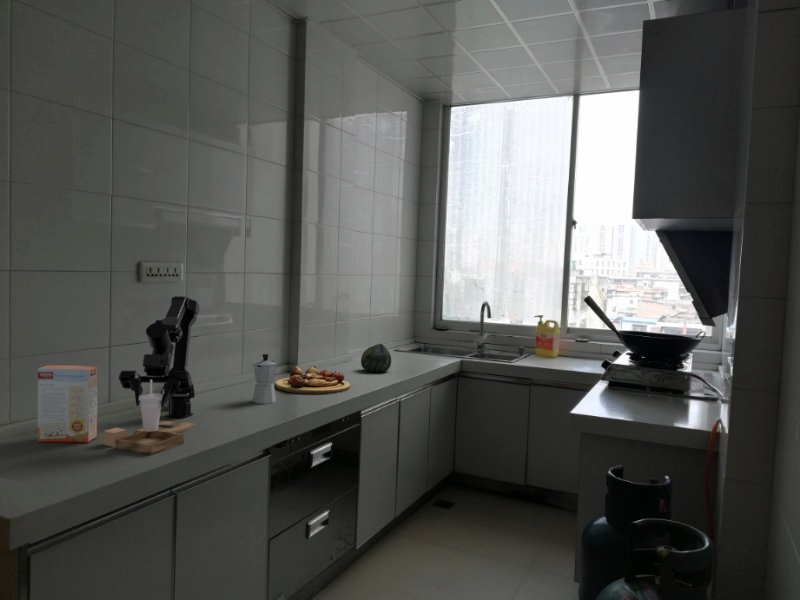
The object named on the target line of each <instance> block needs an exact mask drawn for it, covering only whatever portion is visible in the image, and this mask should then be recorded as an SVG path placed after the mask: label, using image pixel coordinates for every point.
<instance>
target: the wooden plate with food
mask: <svg viewBox="0 0 800 600" xmlns="http://www.w3.org/2000/svg"><path fill="white" fill-rule="evenodd" d="M289 376H290V377H286V378H285V377H284V378H281V379H277V380H276V381H275V382H274V388H277V390H280V391H283V392H287V393H292V394H293V393H295V394H302V395H303V394H304V395H329V394H328V393H333V394H338V393H337V392H340V393H343V392H342V391H344V392H346V390H347V391H349V390H350V389H349V388H351V384H350V383H349V381H346V380H345V375H344V373H342V372H337V371H336V370H334V372H333V371H328V370H327V369H322V370H320V371H319V370H318V369H317V368H316V367H314V366H311V367H309V368H308V369H307V370H306V371H305V373H303V370H302V369H301V368H300V367H298V366H294V367H293V368H291V370H290V372H289ZM348 389H349V390H348Z"/></svg>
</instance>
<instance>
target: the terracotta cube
mask: <svg viewBox="0 0 800 600" xmlns="http://www.w3.org/2000/svg"><path fill="white" fill-rule="evenodd" d="M125 436H127V429H124V428H119V427H113V428H110V429H106V430H103V445H104V446H108V447H111V446H112V448H116V447H115V446H116V439H119V438H122V437H125Z"/></svg>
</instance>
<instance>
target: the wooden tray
mask: <svg viewBox="0 0 800 600" xmlns="http://www.w3.org/2000/svg"><path fill="white" fill-rule="evenodd" d="M184 439H185V434H183V433H180V434H178V433H172V432H166V431H160V430H156V431H151V432H147V431H141V432H138V433H131V434H129V435H126V436H125V437H122V438H119V439H116V447H115V449H116V450H123V451H127V452H133V453H136V454H137V453H139V454H144V455H147V456H148V455H149V456H152V455H156V454H158V453H161V452H164V451H166V450H169V449H171V448H174V447H178V446H180V445H182V444H184V443H185V440H184Z"/></svg>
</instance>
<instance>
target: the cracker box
mask: <svg viewBox="0 0 800 600" xmlns="http://www.w3.org/2000/svg"><path fill="white" fill-rule="evenodd" d="M97 437H98V366H97V365H95V366H93V365H65V364H64V365H62V364H61V365H58V364H57V365H53V364H52V365H50V364H48V365H45V366H41V367H39V368H37V442H41V443H42V442H45V443H48V442H49V443H50V442H51V443H55V442H56V443H89V442H90V441H93V440H94V439H96V438H97Z"/></svg>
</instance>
